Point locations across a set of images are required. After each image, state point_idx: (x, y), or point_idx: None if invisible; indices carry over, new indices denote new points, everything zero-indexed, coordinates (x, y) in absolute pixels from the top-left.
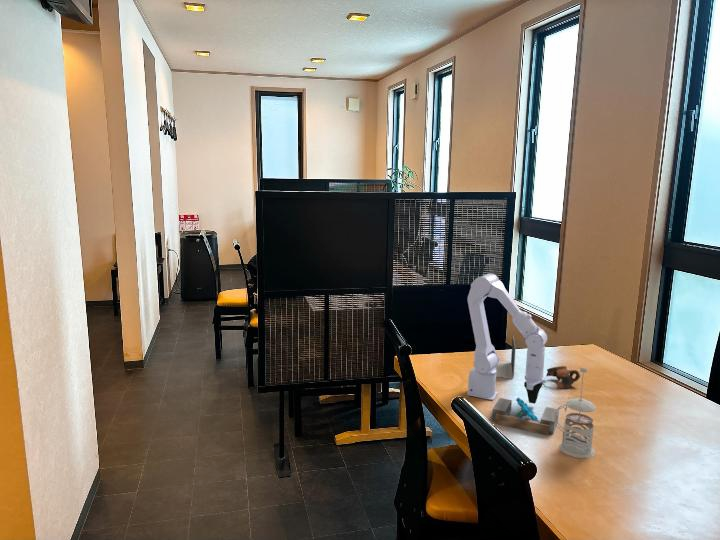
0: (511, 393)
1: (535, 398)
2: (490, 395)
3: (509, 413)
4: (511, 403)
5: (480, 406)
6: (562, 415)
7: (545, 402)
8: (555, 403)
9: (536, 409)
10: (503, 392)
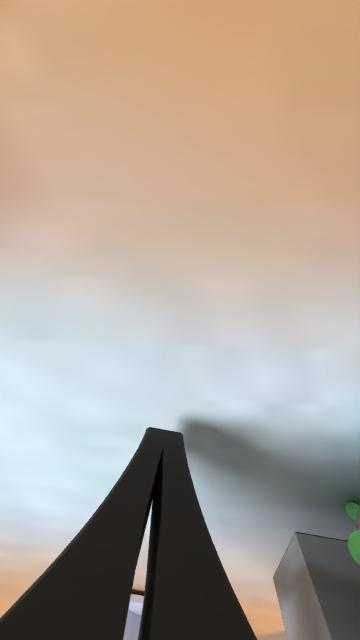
0: (5, 521)
1: (188, 484)
2: (137, 630)
3: (347, 547)
4: (328, 615)
5: (263, 634)
6: (289, 173)
7: (36, 327)
8: (10, 240)
9: (213, 396)
10: (17, 553)
